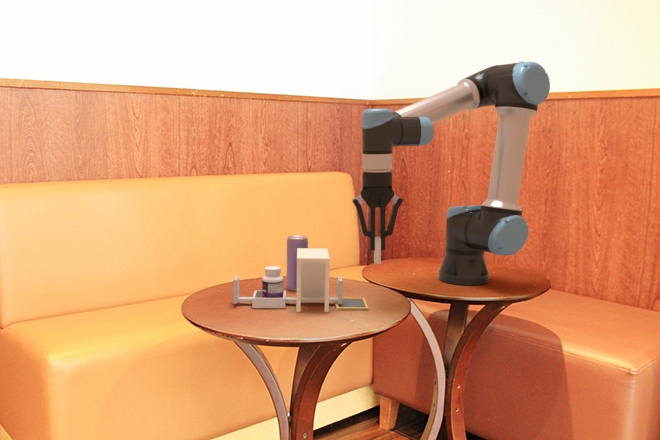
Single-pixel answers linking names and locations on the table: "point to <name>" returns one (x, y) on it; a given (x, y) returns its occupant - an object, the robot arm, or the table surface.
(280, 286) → the pill bottle
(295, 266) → the beverage can
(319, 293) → the tunnel
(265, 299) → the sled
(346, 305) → the tray
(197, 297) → the table surface
